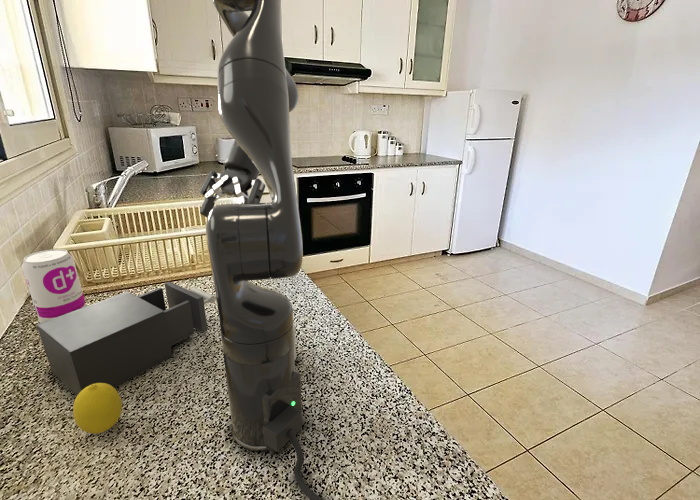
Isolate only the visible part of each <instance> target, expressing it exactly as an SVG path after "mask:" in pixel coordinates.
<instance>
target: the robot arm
mask: <svg viewBox="0 0 700 500" xmlns="http://www.w3.org/2000/svg"><path fill="white" fill-rule="evenodd" d="M211 3H212V4H213V7H214V8H215V10H216V12H217V13H218V15H219V16H220V17H221V20H222V21H223V23H224V24H225V26H226V28H227V29H228V31H229V33H230V34H231V36H232V38H231V40H230V41H229V43H228V44H227V46H226V47H225V48H224V51H223V53H222V54H221V55H220V59H219V61H218V65H217V69H216V70H217V71H216V72H217V73H216V76H217V77H216V79H217V81H216V82H217V109H218V115H219V117H220V119H221V122H222V124H223V125H224V127H225V129H226V131H228V133H229V134H230V136H231V137H232V138H233V140H234V141H233V144H232V145H231V147H230V150H229V152H228V154H227V156H226V158H225V161H224V164H223V165H224V169H223V171H222V172H221V173H220V172H219V173H218V172H217V171H215V170H214V169H212V170H210V171H209V173H208V174H207V176H206V177H205V178H206V179H205V180H204V183H203V184H202V186H201V188H200V190H199V193H200V194H201V195H202V196H203V197H204V200H203V202H202V204H201V207H200V209H199V213H200V215H201V216H203V217H205V218H206V222H205V240H206V247H207V254H208V260H209V266H210V269H211V275H212V280H213V285H214V290H215V291H214V292H215V297H216V305H217V306H216V307H217V313H218V320H219V329H220V337H221V345H222V354H223V364H224V371H225V380H226V387H227V394H228V404H229V411H230V418H231V419H230V420H231V433H232V437H233V439H234V441H235V442H236V443H237V444H238V445H239V446H241V447H242V448H244V449H246V450H249V451H254V452H255V451H257V452H263V451H267V452H269V454H275V453H278V452H279V451H280V450H282V448H283V447H285V445H287V444H288V442H290V443H291V444H292V447H293V448H294V450H295V455H296V462H295V465H294V468H293V469H294V471H293V472H294V478H295V481H296V483H297V486H298V487H299V489H300V490H301V492H303V494H304V495H305V496H306V497H307V498H308V499H309V500H324V499H323V498H322V497H320V496H319V495H318V494H316V493H315V492H314V491H313V490H312V489H311V488H310V487H309V486H308V485H307V483H306V482H305V480H304V477H303V474H302V468H303V465H304V460H305V457H304V450H303V447H302V445H301V443H300V441H299V439H298V437H297V433H298V432H300V430H301V429H302V428H303V404H302V377H301V376H302V375H301V373H300V372H299V371H297V370H296V368H295V367H296V363H295V362H296V360H295V359H294V331H293V324H294V309H293V305H292V301H290V299H289V298H288V297H287V296H286V295H284V294H282V293H281V292H279V291H276V290H273V289H269V288H265V287H262V286H259V285H258V284H257V285H256V284H254V283H252V281H264V280H270V279H271V280H277V279H278V280H279V279H288V278H292V277H295V276H297V275H298V274H299V272H300V271H301V269H302V265H303V258H304V246H303V245H304V244H303V243H304V242H303V234H302V233H303V231H302V224H301V218H300V217H301V215H300V210H299V203H298V196H297V189H296V182H295V174H294V168H293V167H294V166H293V158H292V157H293V156H292V148H291V147H292V146H291V124H290V123H291V122H290V121H291V120H290V113H291V112H292V111H294V110H295V108H296V107H297V106H298V103H299V91H298V90H299V89H298V87H297V85H296V82H295V80H294V79H293V77H292V76H291V74H290V72H289V71H288V69H287V68H286V61H285V52H284V46H283V45H284V44H283V31H282V28H283V27H282V26H283V24H282V22H283V21H282V20H283V19H282V0H211ZM247 12H250V14H249V15H248V14H247ZM259 174H260V176H261V178H262V179H263V180H261V179H260V178H258V177H259ZM263 181H264V182H263ZM266 188H267V190H268V193H269V195H270V198H271V201H270V202H261V201H262V197H263V194H264V191H265V189H266ZM249 190H250V193H249ZM226 196H229V197H231V196H233V197H235V198H237V201H238V203H223V204H217V205H215V204H216V202H217V201H218V200H219V199H221V198H225V197H226ZM250 281H251V282H250Z"/></svg>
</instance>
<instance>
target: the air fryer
mask: <svg viewBox="0 0 700 500" xmlns="http://www.w3.org/2000/svg"><path fill="white" fill-rule="evenodd" d="M137 296H138V295H136V294H133V293H131V292H130V291H125V292H121V293H119V294H116V295H113V296H111V297H108V298H106V299H103V300H100V301H98V302H97V301H96V302H94V303H92V304H89V305H86V307H83V308H81V309H78V310H75V311H72V312H70V313H67V314H64V315H61V316H59V317H56V318H53V319H50V320H48V321H45V322H42V323H40V322H39V323H37V324H36V328H37V330H38V334H39V337H40V340H41V343H42V346H43V349H44V352H45V354H46V357H47V361H48V364H49V367H50V371H51V373H52V374H53V375H55V377H57V379H58V380H60V381H61V382H62V384H63V385H65V386H66V387H67V388H68V390H70V391H71V392H72V393H73V394H74V395H76V396H77V395H78V394H79V393H80V392H81V391H82V390H83V389H84V388H86V387H87V386H89V385H91V384H95V383H106V384H109V385H111V386H112V387H114V388H115V389H116V388H117V387H119V386H120V385H122V384H124V383H126V382H128V381H129V380H131V379H133V378H135V377H137V376H139V375H141V374H142V373H144V372H146V371H148V370H149V369H151V368H153V367H155V366H157V365H158V364H161V363H162V362H164V361H166V360H168V359H169V358H171V357H173V351H172V346H171V345H170V339H169V334H168V328H167V323H166V317H165V312H164V311H163V310H161V309H159V308H158V307H156V306H154V305H152V304H150V303H148V302H146V301H145V300H143V299H141V298H139V297H137Z"/></svg>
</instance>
